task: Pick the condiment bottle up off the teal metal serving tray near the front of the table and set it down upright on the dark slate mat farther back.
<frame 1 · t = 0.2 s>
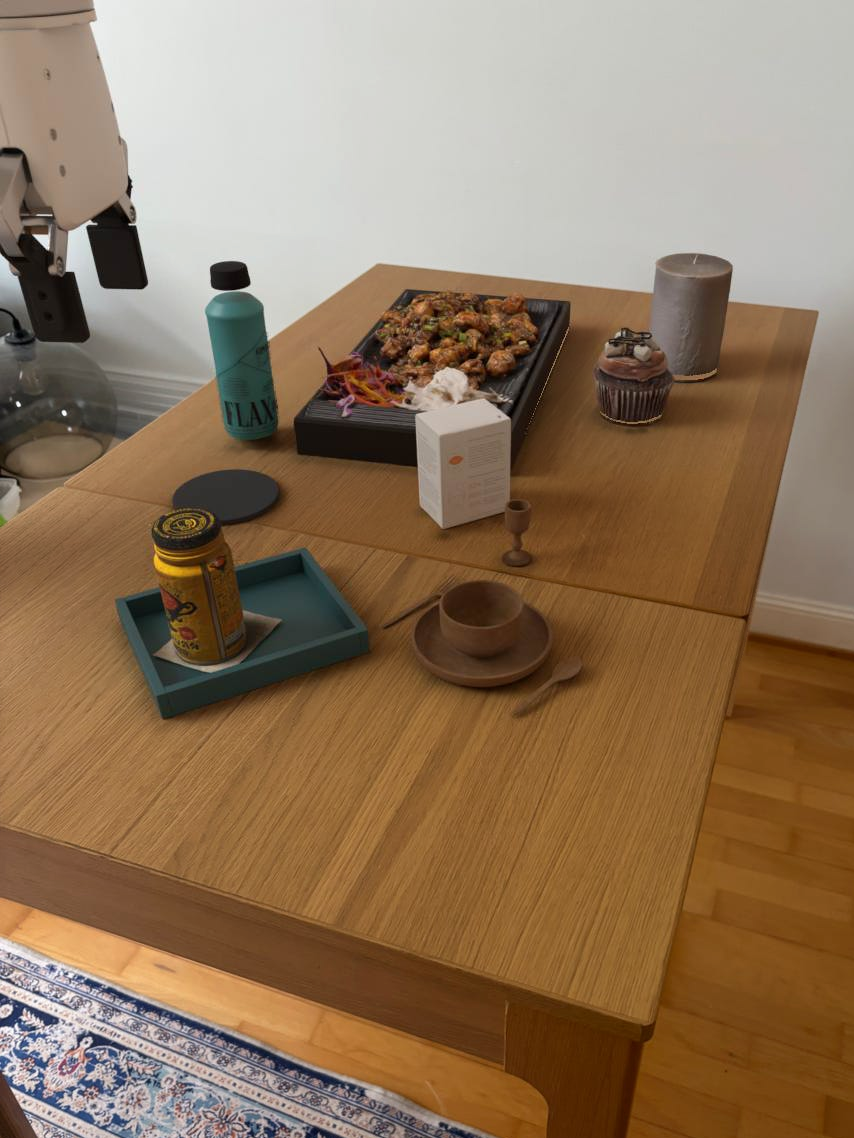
hand: (96, 312, 62), 30 cm above the table, tool pointing down, fingers open, 9 cm apart
small box: (464, 510, 102), on the table
cupcake: (630, 413, 120), on the table
beverage bottle: (254, 441, 114), on the table
mat: (226, 498, 103), on the table
food platter: (449, 386, 127), on the table
condiment: (219, 641, 84), resting on tray
tray: (242, 636, 84), on the table
pillar candle: (680, 370, 131), on the table
place setting: (510, 628, 86), on the table
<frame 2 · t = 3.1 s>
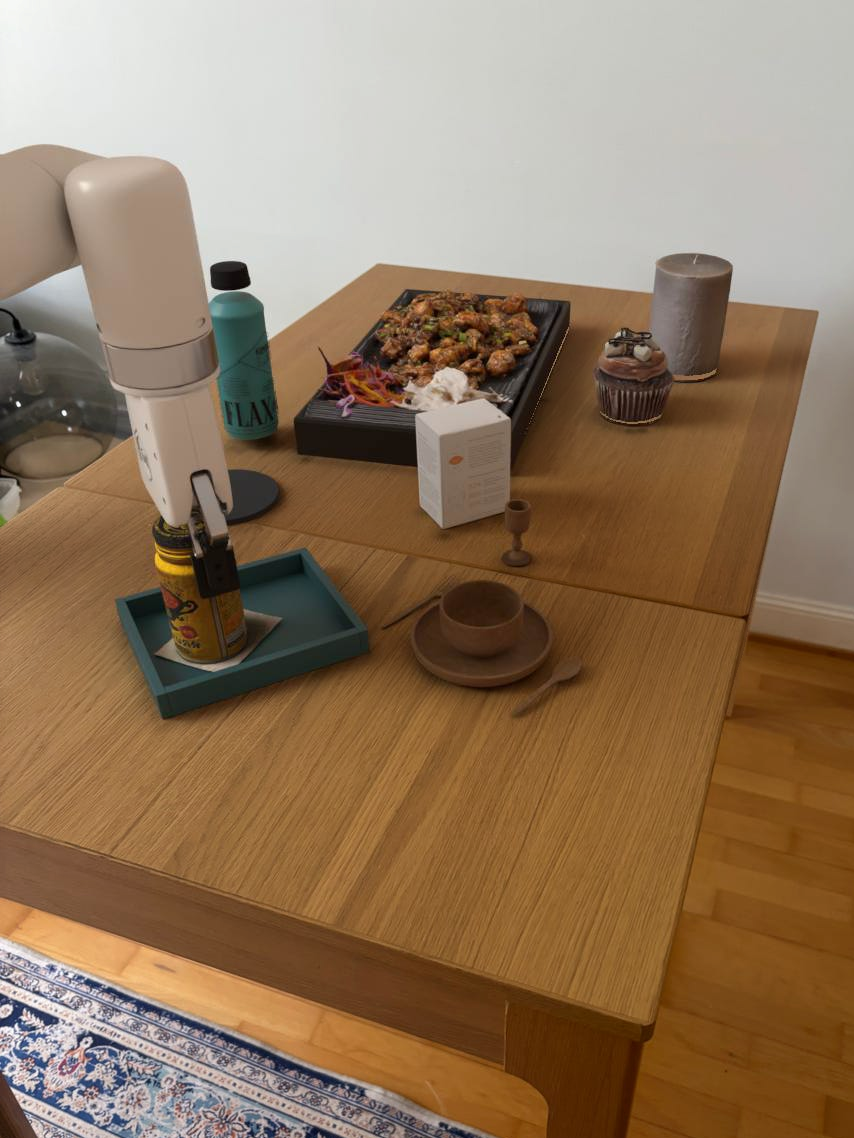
hand: (207, 570, 79), 8 cm above the table, tool pointing down, fingers closed on condiment, 6 cm apart
condiment: (220, 640, 84), resting on tray, touching gripper
everything else where it was.
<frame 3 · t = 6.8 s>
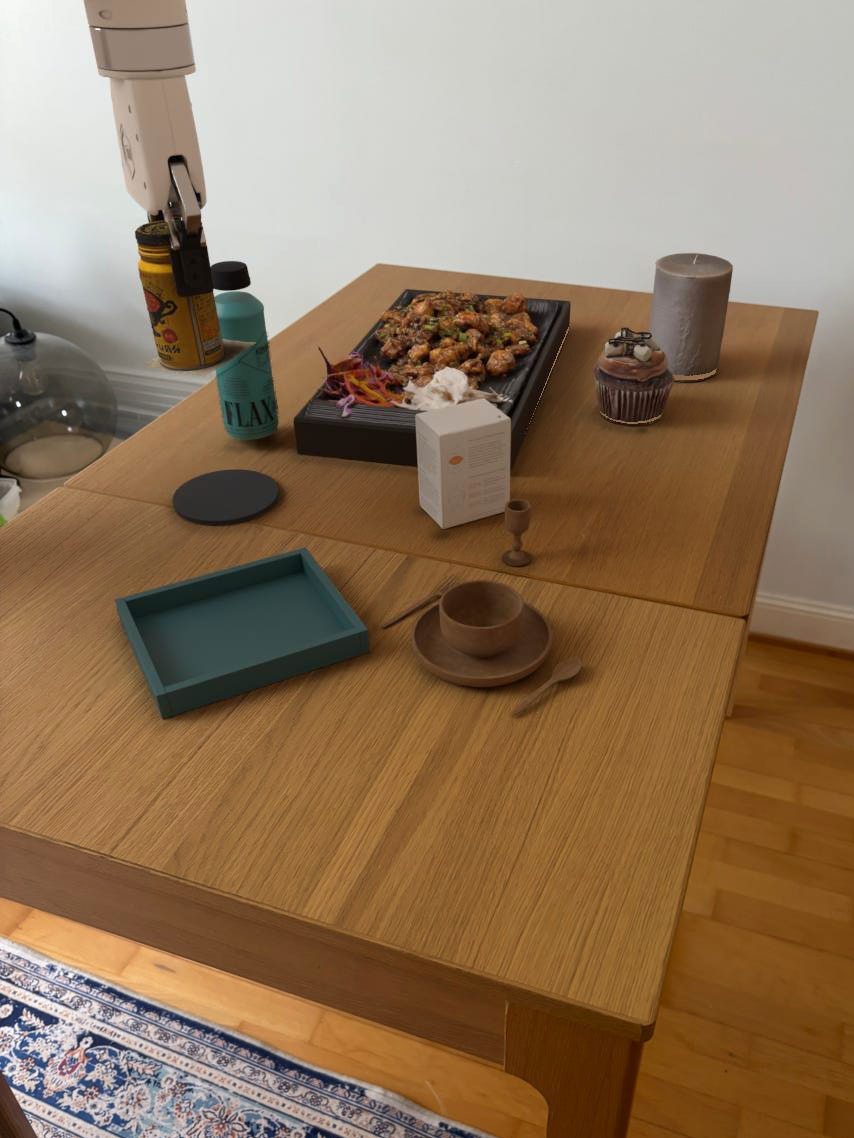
hand: (185, 281, 88), 23 cm above the table, tool pointing down, fingers closed on condiment, 6 cm apart
condiment: (200, 358, 93), point 16 cm above the table, touching gripper
everything else where it was.
when the fingers open (8 cm above the table, at t = 10.6 s): condiment stays where it is, resting on mat.
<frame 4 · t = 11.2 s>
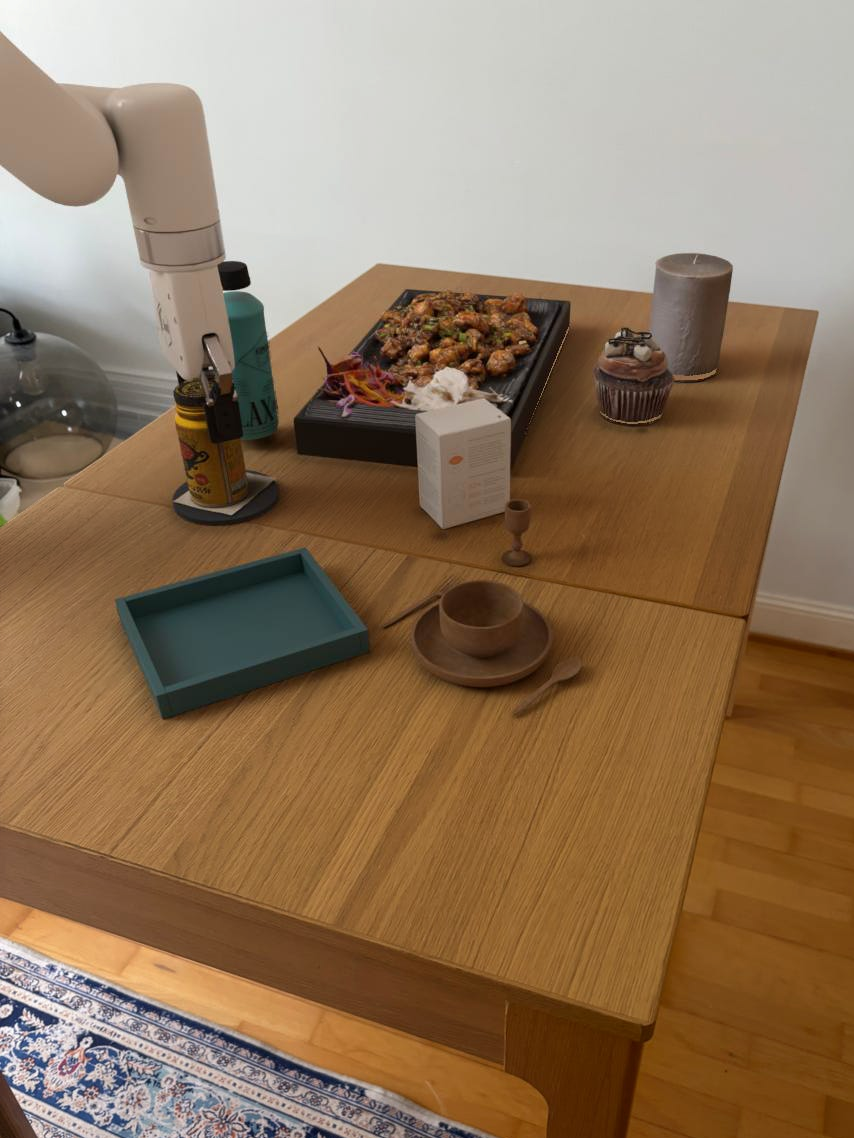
hand: (212, 420, 98), 9 cm above the table, tool pointing down, fingers open, 9 cm apart
condiment: (226, 493, 103), resting on mat
everything else where it was.
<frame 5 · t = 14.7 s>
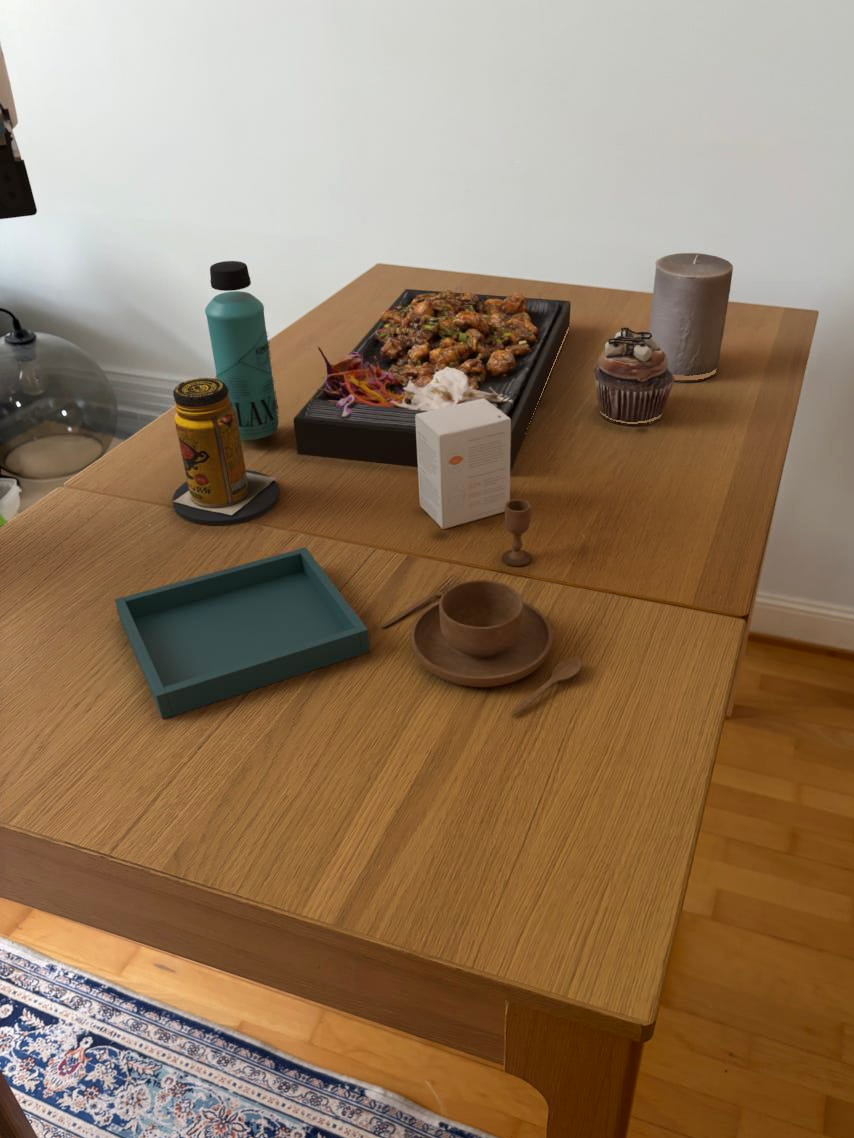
hand: (7, 202, 82), 30 cm above the table, tool pointing down, fingers open, 9 cm apart
nothing on the table moved.
at the end: condiment inside the target area on the mat (0.4 cm from its centre), point 0.4 cm above the mat's base; condiment tilted 0°; condiment touching mat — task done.
